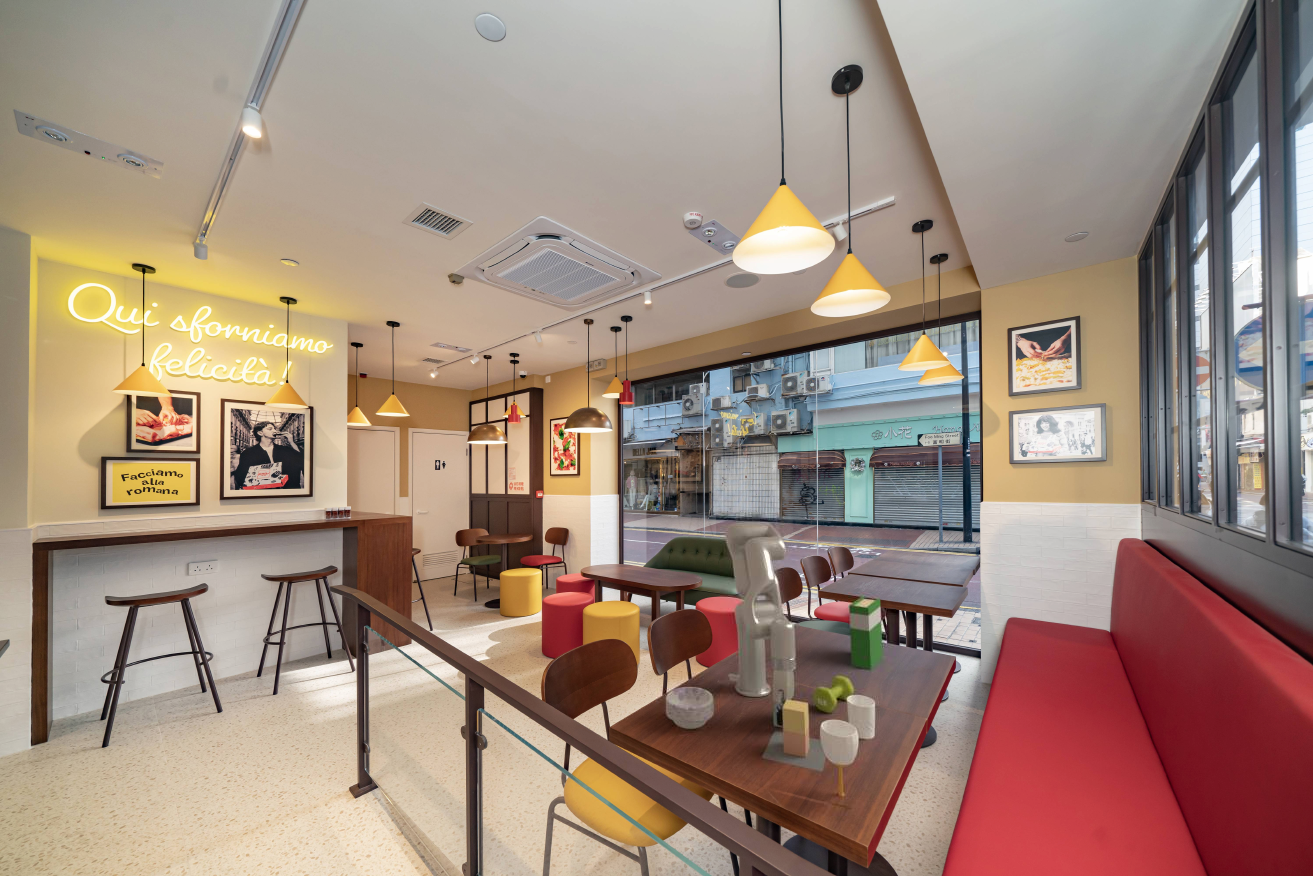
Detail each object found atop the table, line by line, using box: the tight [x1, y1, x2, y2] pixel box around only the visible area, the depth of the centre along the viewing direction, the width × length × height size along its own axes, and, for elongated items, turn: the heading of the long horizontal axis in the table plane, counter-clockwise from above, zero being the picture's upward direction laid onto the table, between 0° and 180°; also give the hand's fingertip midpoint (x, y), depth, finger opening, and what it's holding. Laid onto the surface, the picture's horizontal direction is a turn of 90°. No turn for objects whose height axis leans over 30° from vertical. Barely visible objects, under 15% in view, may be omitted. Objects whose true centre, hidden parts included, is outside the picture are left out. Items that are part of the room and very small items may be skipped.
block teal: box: [772, 702, 784, 728], centre depth 158 cm, size 6×6×6 cm
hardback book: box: [848, 596, 884, 671], centre depth 210 cm, size 18×7×24 cm, turn 142°
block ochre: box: [782, 699, 810, 735], centre depth 143 cm, size 6×6×6 cm
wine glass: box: [819, 719, 860, 810], centre depth 123 cm, size 9×9×16 cm
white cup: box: [846, 694, 876, 740], centre depth 151 cm, size 8×8×10 cm
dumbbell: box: [812, 675, 855, 714], centre depth 171 cm, size 16×8×7 cm, turn 133°
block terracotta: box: [782, 726, 810, 757], centre depth 142 cm, size 6×6×6 cm
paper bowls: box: [665, 686, 715, 730], centre depth 161 cm, size 15×15×8 cm
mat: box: [761, 730, 827, 773], centre depth 142 cm, size 16×16×1 cm
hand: (785, 718), depth 157 cm, fingers open, 9 cm apart
